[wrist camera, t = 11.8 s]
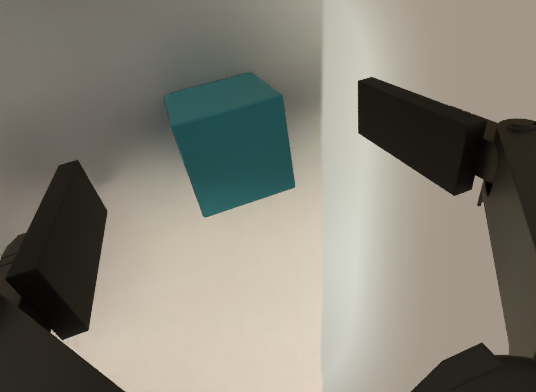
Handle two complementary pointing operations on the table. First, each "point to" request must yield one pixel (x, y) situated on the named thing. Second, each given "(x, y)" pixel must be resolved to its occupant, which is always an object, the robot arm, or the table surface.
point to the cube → (232, 141)
